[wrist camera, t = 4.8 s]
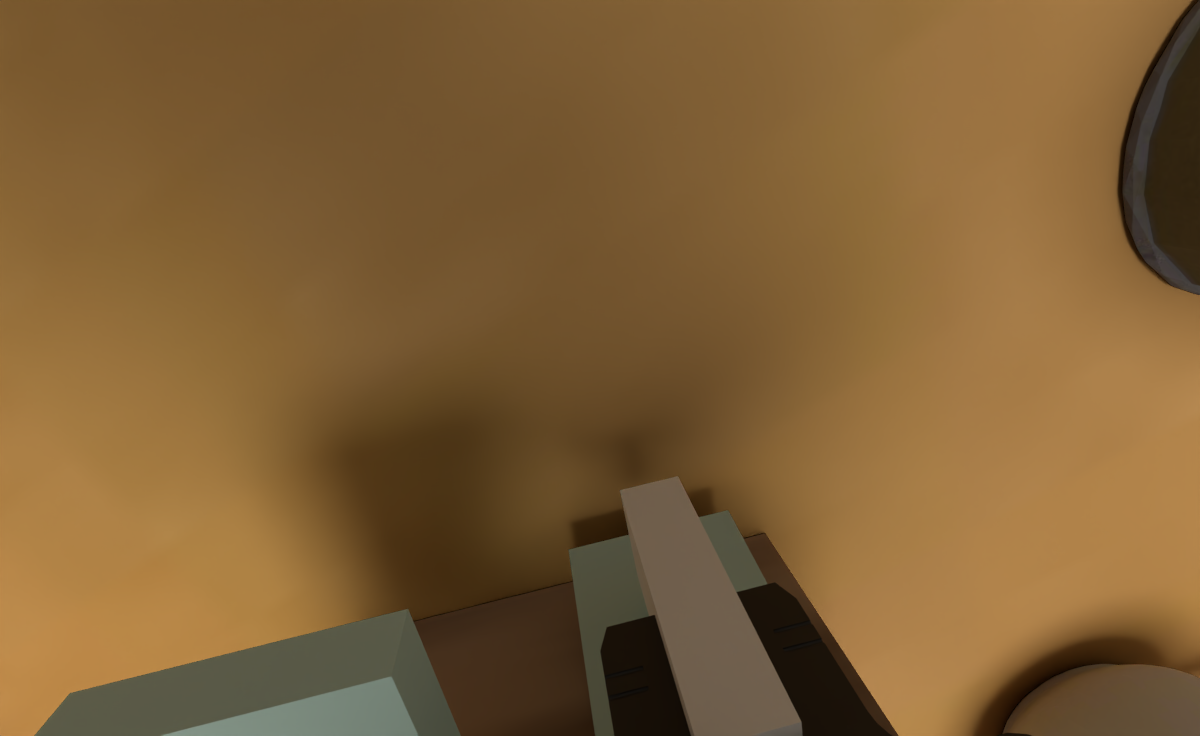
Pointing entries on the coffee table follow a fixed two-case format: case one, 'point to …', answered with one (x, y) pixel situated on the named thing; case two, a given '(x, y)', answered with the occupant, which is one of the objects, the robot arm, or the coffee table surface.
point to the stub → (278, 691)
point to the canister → (1168, 162)
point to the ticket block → (555, 659)
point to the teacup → (1111, 703)
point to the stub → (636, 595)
